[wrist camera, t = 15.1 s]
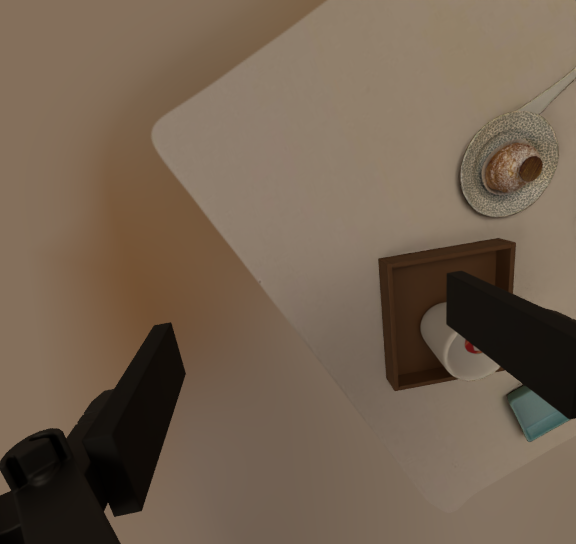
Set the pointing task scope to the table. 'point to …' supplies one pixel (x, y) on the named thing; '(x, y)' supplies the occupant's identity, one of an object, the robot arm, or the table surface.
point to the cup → (454, 347)
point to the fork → (549, 95)
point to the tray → (430, 302)
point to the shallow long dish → (534, 413)
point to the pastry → (509, 164)
